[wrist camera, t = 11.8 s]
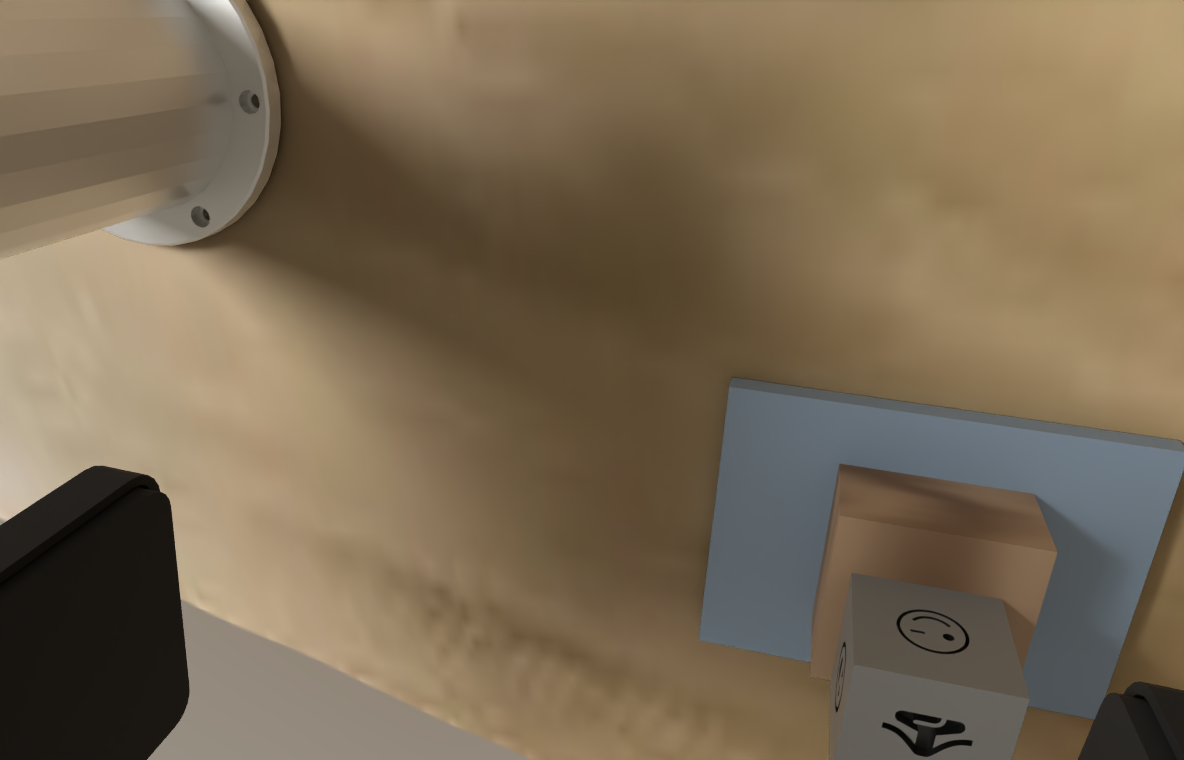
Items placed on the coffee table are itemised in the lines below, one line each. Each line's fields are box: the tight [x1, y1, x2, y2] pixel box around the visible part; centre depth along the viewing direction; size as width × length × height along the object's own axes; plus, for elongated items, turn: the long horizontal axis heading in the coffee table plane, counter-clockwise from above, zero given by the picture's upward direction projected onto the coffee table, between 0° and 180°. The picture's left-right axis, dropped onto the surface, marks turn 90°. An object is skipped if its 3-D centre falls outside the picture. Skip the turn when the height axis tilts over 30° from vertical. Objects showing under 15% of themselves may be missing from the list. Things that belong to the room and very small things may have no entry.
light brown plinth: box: [810, 463, 1058, 681], centre depth 34 cm, size 7×7×4 cm
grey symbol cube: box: [829, 573, 1030, 760], centre depth 30 cm, size 5×5×5 cm
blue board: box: [699, 377, 1184, 720], centre depth 36 cm, size 16×12×1 cm
